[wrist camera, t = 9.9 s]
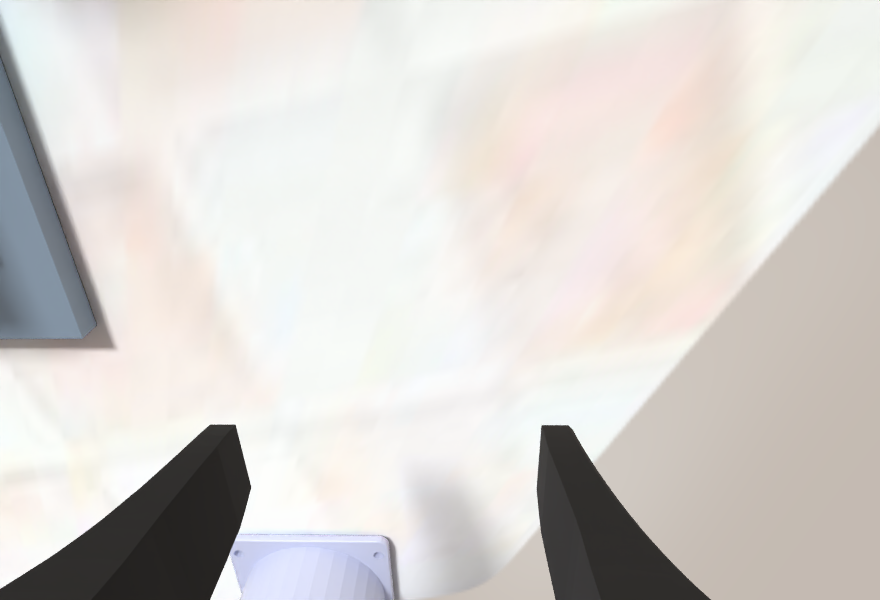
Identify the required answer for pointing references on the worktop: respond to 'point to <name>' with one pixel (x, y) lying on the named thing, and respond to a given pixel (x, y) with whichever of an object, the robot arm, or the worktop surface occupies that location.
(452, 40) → the worktop surface
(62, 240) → the board
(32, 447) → the worktop surface
